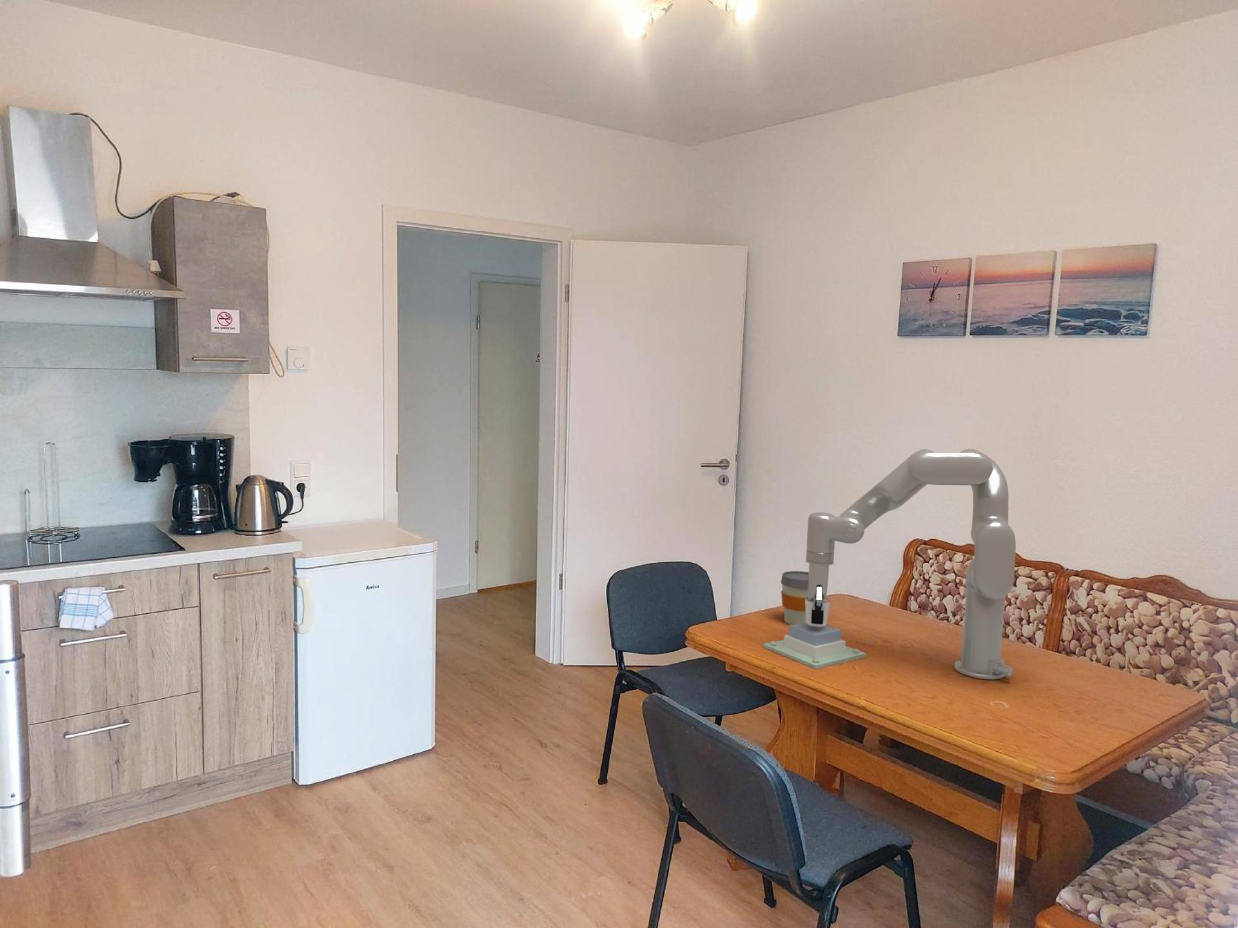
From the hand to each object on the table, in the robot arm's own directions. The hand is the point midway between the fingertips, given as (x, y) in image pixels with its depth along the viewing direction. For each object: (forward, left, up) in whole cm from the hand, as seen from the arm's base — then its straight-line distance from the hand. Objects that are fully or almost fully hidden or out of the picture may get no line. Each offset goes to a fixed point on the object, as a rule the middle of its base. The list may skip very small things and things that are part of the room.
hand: (816, 619), depth 233 cm
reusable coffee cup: (+23, -18, -10) cm, 31 cm away
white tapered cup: (0, 0, -1) cm, 1 cm away
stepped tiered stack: (0, 0, -9) cm, 9 cm away
